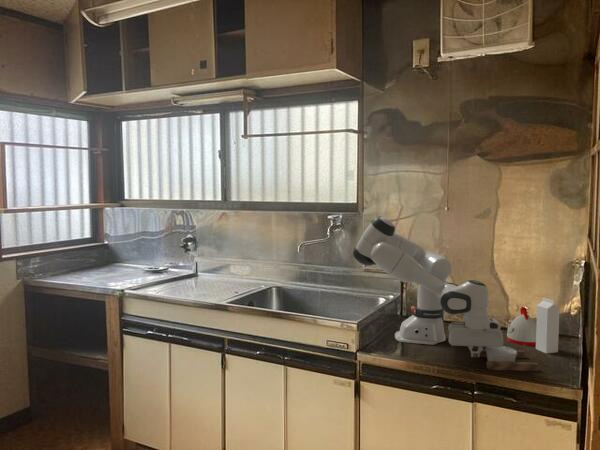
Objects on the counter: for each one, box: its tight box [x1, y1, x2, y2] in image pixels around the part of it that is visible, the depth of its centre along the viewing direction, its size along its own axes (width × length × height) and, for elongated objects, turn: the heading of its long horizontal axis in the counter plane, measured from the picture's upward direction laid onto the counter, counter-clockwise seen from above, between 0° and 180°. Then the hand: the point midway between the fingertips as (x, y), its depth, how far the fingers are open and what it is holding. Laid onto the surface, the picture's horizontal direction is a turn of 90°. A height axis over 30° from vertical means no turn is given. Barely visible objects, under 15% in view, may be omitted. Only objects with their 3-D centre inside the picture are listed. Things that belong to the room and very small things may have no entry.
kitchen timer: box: [506, 306, 537, 347], centre depth 220 cm, size 14×14×15 cm
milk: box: [535, 297, 560, 354], centre depth 206 cm, size 6×6×22 cm
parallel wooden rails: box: [477, 348, 539, 372], centre depth 193 cm, size 18×16×2 cm
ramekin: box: [485, 345, 517, 362], centre depth 194 cm, size 11×11×5 cm
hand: (475, 356), depth 195 cm, fingers closed
